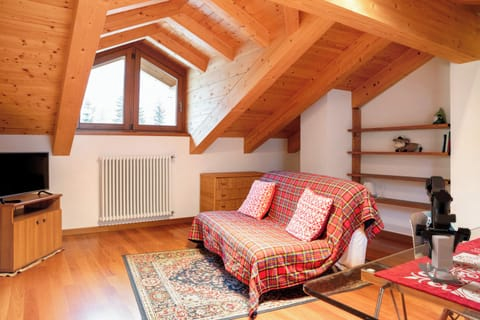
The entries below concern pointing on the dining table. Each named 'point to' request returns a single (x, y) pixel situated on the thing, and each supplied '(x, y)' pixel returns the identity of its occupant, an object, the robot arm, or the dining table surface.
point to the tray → (439, 274)
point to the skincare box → (442, 252)
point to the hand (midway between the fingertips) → (442, 251)
